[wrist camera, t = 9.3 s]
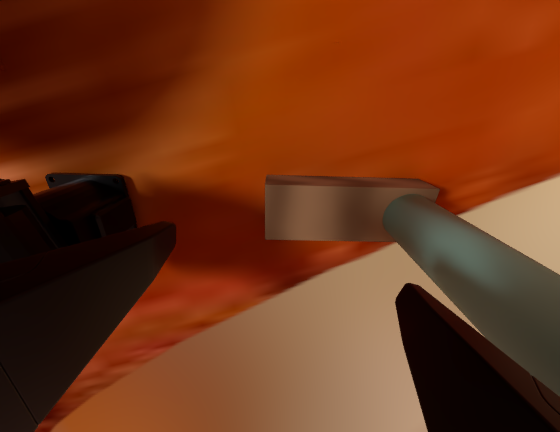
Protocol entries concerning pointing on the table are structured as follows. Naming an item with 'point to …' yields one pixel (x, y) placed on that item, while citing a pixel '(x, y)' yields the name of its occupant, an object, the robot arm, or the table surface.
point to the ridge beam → (334, 206)
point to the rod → (485, 282)
